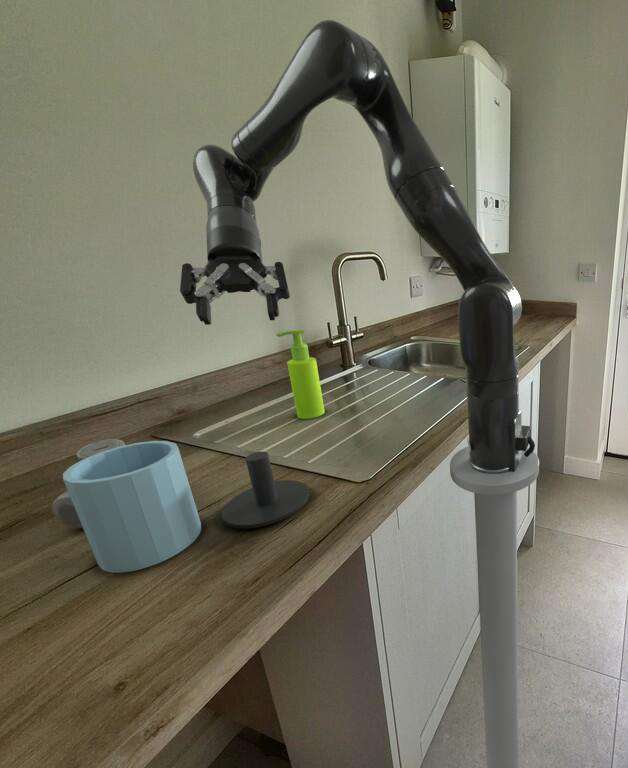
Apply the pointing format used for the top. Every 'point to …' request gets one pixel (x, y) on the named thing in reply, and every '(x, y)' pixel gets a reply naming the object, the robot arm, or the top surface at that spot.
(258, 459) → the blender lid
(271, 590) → the top surface
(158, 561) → the light blue cup
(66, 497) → the pipe fitting
